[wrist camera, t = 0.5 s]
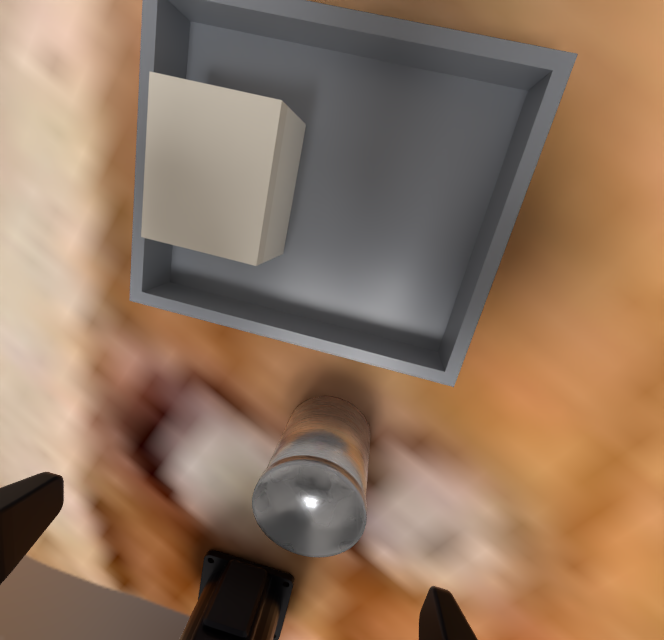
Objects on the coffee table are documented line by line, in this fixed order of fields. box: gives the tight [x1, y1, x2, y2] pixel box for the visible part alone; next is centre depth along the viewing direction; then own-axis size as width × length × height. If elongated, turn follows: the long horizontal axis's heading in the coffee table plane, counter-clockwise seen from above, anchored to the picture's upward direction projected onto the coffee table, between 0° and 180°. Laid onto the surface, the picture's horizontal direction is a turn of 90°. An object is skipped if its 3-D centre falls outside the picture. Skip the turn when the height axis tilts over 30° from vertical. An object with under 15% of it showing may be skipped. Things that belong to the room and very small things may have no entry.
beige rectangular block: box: [141, 71, 306, 266], centre depth 16 cm, size 6×5×4 cm
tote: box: [130, 0, 578, 387], centre depth 17 cm, size 13×16×3 cm
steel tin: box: [252, 396, 370, 557], centre depth 19 cm, size 5×5×6 cm
